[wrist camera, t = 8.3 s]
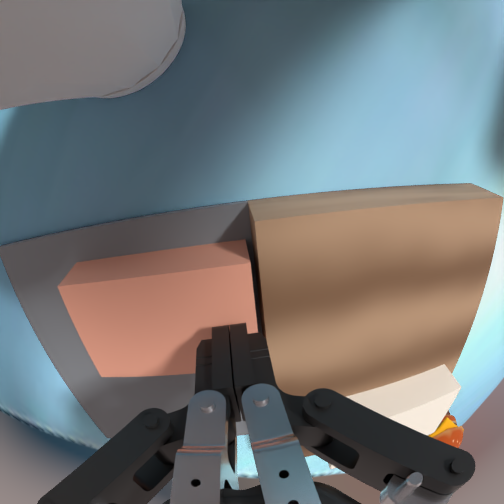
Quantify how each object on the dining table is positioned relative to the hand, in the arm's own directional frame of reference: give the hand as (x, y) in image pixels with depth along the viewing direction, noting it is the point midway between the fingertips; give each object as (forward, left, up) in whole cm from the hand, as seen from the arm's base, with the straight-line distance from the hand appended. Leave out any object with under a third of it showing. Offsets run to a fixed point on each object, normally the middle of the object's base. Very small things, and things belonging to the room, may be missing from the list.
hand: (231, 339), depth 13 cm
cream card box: (+10, +10, 0) cm, 14 cm away
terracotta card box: (0, -3, -3) cm, 5 cm away
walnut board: (+5, +9, -4) cm, 11 cm away
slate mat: (+4, -6, -4) cm, 8 cm away
